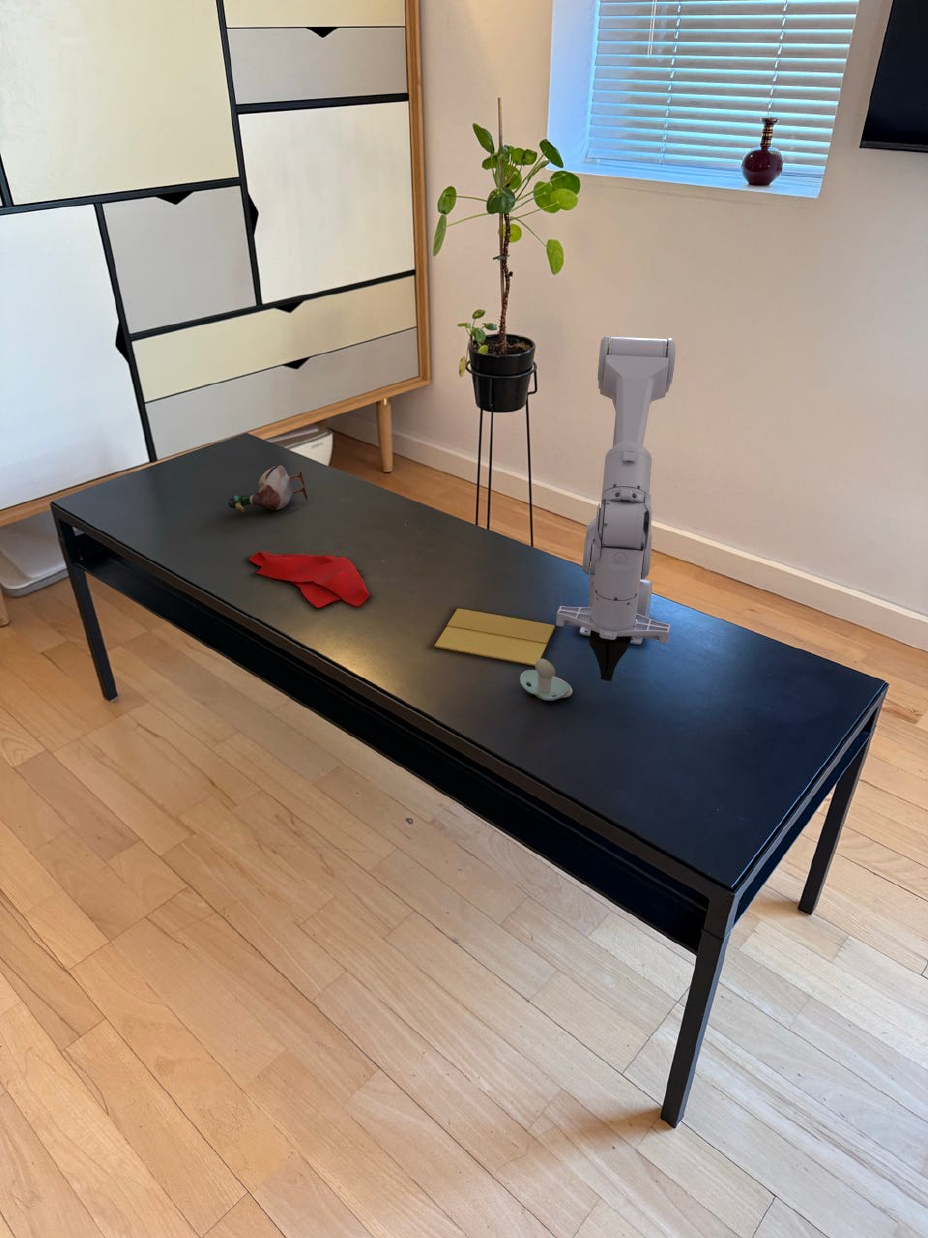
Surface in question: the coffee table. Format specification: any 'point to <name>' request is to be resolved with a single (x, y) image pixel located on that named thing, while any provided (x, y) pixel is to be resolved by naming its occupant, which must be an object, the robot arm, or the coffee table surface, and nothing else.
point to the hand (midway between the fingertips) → (607, 676)
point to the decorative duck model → (270, 491)
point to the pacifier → (545, 682)
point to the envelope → (496, 636)
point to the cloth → (316, 576)
